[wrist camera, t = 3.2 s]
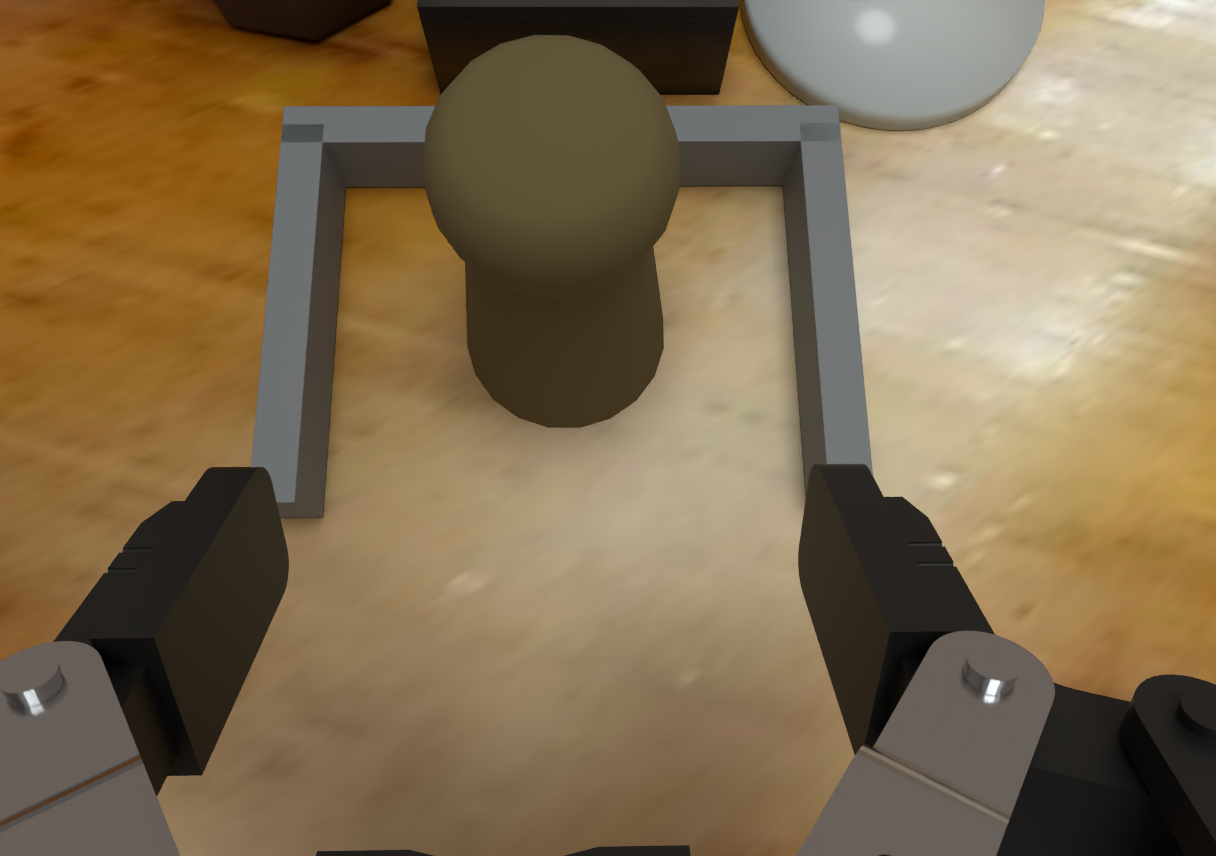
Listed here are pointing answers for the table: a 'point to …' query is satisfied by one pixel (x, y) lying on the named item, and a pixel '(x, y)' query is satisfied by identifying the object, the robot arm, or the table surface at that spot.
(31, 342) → the table surface
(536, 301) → the cork
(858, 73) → the saucer
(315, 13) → the beer bottle
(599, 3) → the open storage bin
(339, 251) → the grey u-shaped frame
